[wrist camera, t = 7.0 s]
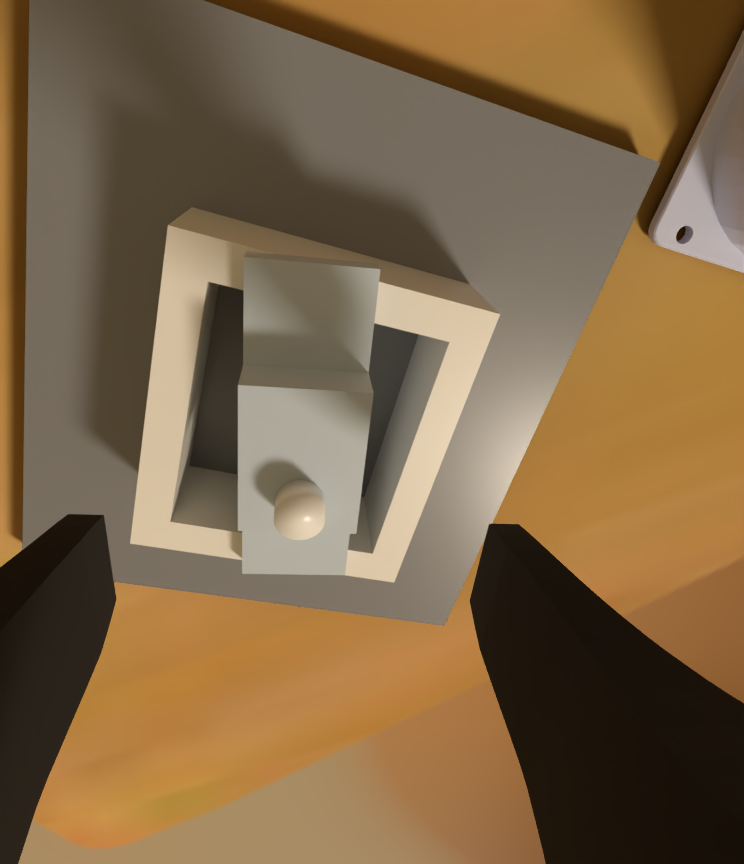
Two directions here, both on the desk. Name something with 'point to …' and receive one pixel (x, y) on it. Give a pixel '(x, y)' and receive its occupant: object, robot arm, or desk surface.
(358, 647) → the desk surface
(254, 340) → the block
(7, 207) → the desk surface
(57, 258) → the pocket plate
